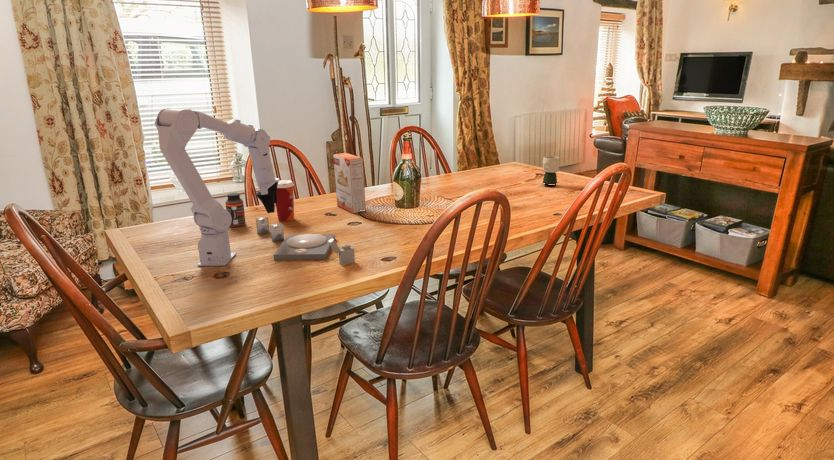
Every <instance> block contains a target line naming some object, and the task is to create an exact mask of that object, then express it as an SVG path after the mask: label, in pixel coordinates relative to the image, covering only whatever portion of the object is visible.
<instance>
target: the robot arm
mask: <svg viewBox="0 0 834 460" xmlns="http://www.w3.org/2000/svg"><path fill="white" fill-rule="evenodd" d="M154 126H155V127H156V129H157V133H158V134H157V135H158V144H159V150H160V152H161V153H162V156H163V157H164V158H165V160H166V162H167V164H168V165H169V167H170V169H171V171H172V172H173V173H174V175H175V177H176V178H177V179H178V182H179V183H180V185H181V186H182V188H183V190H184V192H185V193H186V195H187V197H188V199H189V200H190V202H191V203H192V205H191V207H190V211H191V212H192V216H193V222H194V223H195V225H197V226H198V228H199V231H200V234H201V237H200V239H199V240H198V244H197V250H198V255H199V262H198V263H197V266H198V267H210V266H211V267H213V266H215V267H216V266H217V267H218V266H219V267H224V266H226V265H228V263H229V262H230V261H231V260H233V258H234V257H235V256H236V255H237V253H236V252H232V251H231V244H230V238H229V228H230V227H231V226H230V225H231V222H232V218H231V214H230V213H229V212H228V211H227V210H226V208H224V206H223V205H222V204H221V203H220V202H219V201H218V200H216V199H215V198H214V197H213V195H212V193H211V192H210V191H209V189H208V187H207V185H206V183H205V182H204V180H203V179H202V176H201V175H200V173H199V171H198V170H197V168H196V166H195V165H194V163H193V162H194V161H192V159H191V157H190V156H189V153H188V152H187V150H186V146H187V145H188V143H189V141H191V139H192V137H193V136H194V134H195V133H196V132H197V130H199V129H200V130H202V129H207V130H210V131H214V132H218V133H221V134H223V137H224V139H226V140H228V141H232V142H234V143H237V144H241V145H243V146H244V147H245V148H247V149H248V150H247V151H248V153H249V157H250V161H251V164H252V165H251V166H252V170H253V173H254V174H253V175H254V178H255V184H256V187H257V188H258V189H259V191H258V192H256V198H258V200H260V202H261V203H262V205H263V207H264V209H265V211H266V213H267V214H272V213H275V212H276V211H275V210H276V203H277V185H278V182H279V180H280V178H278V177H276V176H275V173H274V168H273V164H272V159H271V155H270V143H271V136H270V135H269V134H268V132H266V130H264V129H262V128H255V126H254V125H252V124H245V123H242V122H241V120H240V119H238V118H237V119H236V118H234V119H231V120H228V121H225V120H221V119H220V118H217V117H214V116H211V115H209V114H206V113H204V112H201V111H198V110H197V111H196V110H192V109H191V108H183V109H181V108H171V107H164V108H162V109H161V110H160V111H159V112H158V113H157V115H156V118H155V121H154Z"/></svg>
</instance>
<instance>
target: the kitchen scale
mask: <svg viewBox="0 0 834 460" xmlns="http://www.w3.org/2000/svg"><path fill="white" fill-rule="evenodd" d="M330 239H334V240H335V241H336V234H319V233H304V234H288V235H287V236H286V238H284V240H283V241H282V243H281V244H280V245H279V246H278V248H277V249H276V251H275V252H274V253H273V254H272V257H273V261H282V260H283V261H287V260H288V261H289V260H294V261H295V260H301V261H302V260H327V257H328V256H329V255H328V254H329V252H330V251H331V249H332V247H331V246H330V244H329V242H328V241H329V240H330Z"/></svg>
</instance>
